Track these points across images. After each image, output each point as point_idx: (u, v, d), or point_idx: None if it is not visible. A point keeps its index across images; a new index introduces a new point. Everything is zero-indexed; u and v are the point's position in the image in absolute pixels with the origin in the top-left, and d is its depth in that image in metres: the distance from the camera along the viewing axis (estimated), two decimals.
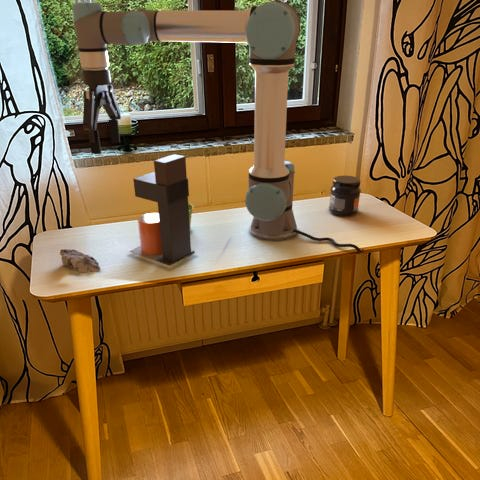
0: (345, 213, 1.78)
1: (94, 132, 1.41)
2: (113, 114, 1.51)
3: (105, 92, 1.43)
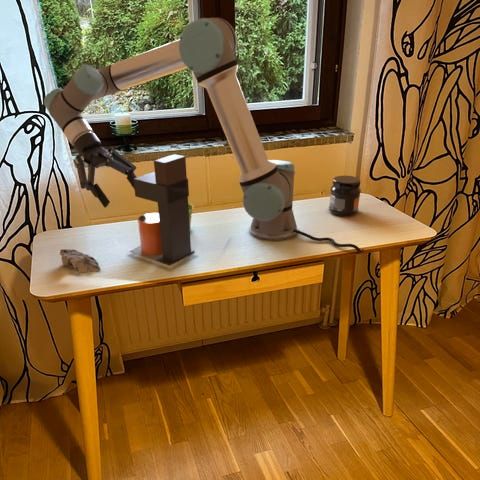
0: (345, 213, 1.78)
1: (94, 187, 1.44)
2: (124, 169, 1.54)
3: (99, 152, 1.49)
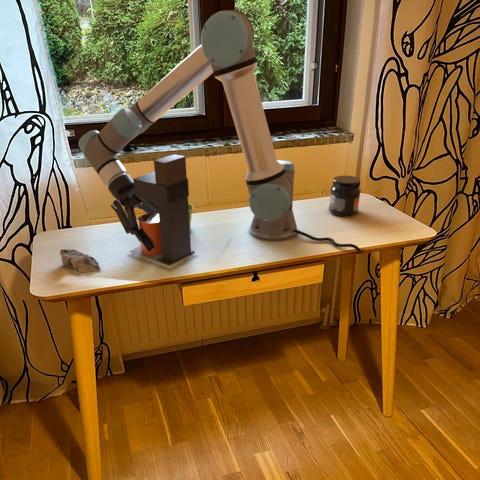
0: (345, 213, 1.78)
1: (138, 231, 1.45)
2: None
3: (134, 194, 1.48)
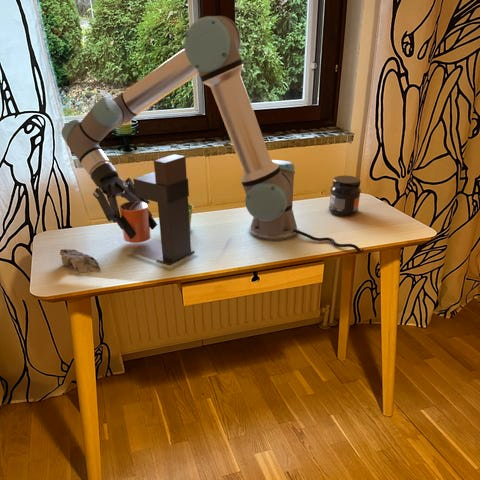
0: (345, 213, 1.78)
1: (120, 219, 1.47)
2: None
3: (116, 182, 1.51)
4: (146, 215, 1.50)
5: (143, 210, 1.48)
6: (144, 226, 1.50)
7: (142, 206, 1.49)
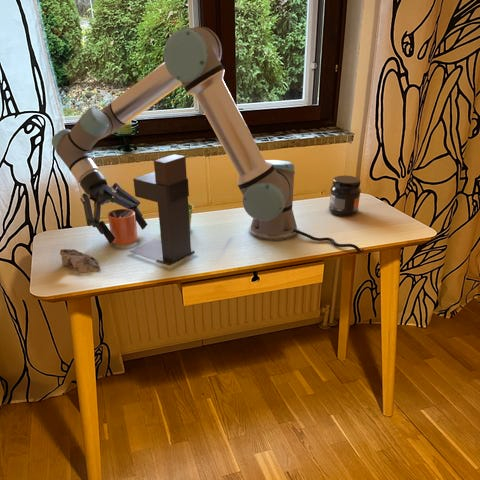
0: (345, 213, 1.78)
1: (99, 224, 1.50)
2: (129, 205, 1.60)
3: (104, 190, 1.55)
4: (133, 222, 1.54)
5: (131, 217, 1.53)
6: (131, 233, 1.55)
7: (129, 214, 1.54)
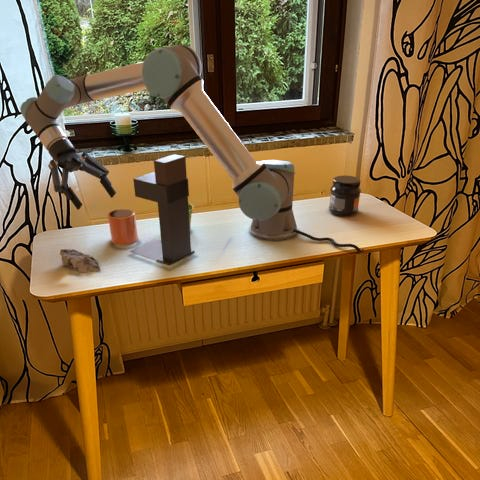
0: (345, 213, 1.78)
1: (67, 190, 1.53)
2: (97, 173, 1.62)
3: (73, 157, 1.58)
4: (133, 222, 1.54)
5: (131, 217, 1.53)
6: (131, 233, 1.55)
7: (129, 214, 1.54)
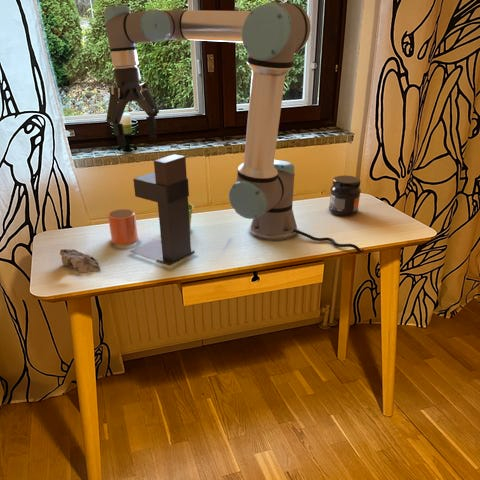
0: (345, 213, 1.78)
1: (118, 125, 1.51)
2: (148, 111, 1.60)
3: (135, 89, 1.52)
4: (133, 222, 1.54)
5: (131, 217, 1.53)
6: (131, 233, 1.55)
7: (129, 214, 1.54)
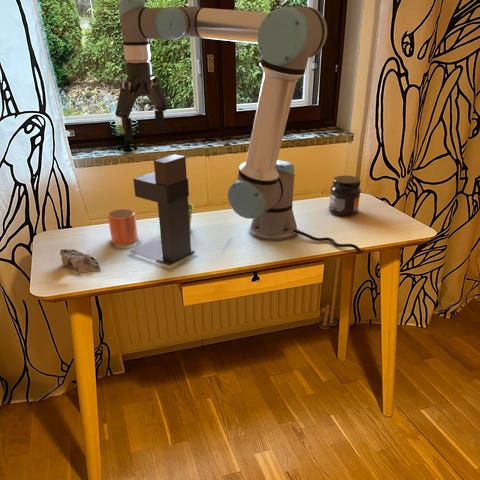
0: (345, 213, 1.78)
1: (126, 120, 1.51)
2: (157, 105, 1.59)
3: (145, 84, 1.51)
4: (133, 222, 1.54)
5: (131, 217, 1.53)
6: (131, 233, 1.55)
7: (129, 214, 1.54)
